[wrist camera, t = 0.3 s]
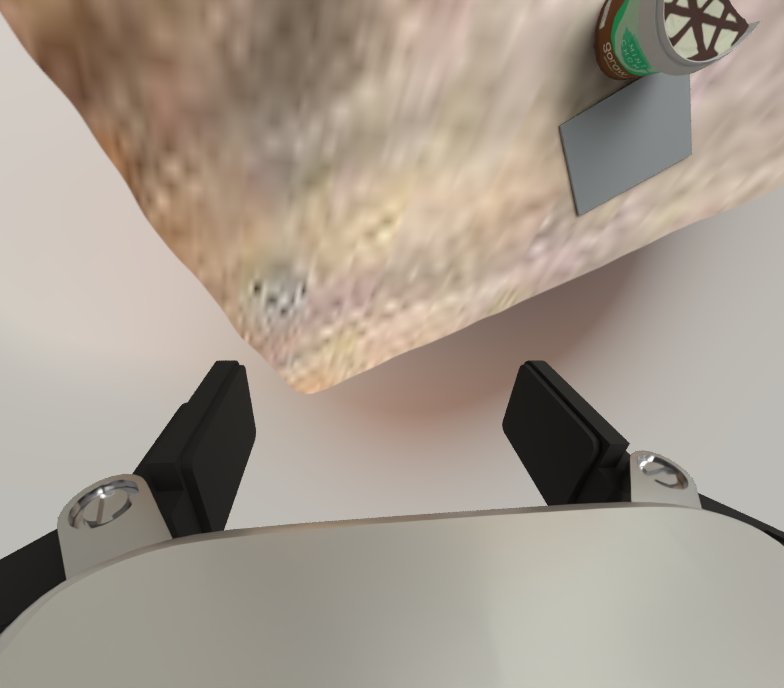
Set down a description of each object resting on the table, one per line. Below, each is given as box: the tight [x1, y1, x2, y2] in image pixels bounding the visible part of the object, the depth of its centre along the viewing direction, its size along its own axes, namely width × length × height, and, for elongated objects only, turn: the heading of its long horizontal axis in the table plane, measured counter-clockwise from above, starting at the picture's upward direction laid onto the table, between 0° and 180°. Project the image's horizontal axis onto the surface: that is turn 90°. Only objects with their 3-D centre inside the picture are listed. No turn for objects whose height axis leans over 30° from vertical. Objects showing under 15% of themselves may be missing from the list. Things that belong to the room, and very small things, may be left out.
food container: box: [594, 0, 762, 80], centre depth 33 cm, size 12×6×10 cm, turn 63°
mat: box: [559, 72, 692, 216], centre depth 41 cm, size 12×16×1 cm
